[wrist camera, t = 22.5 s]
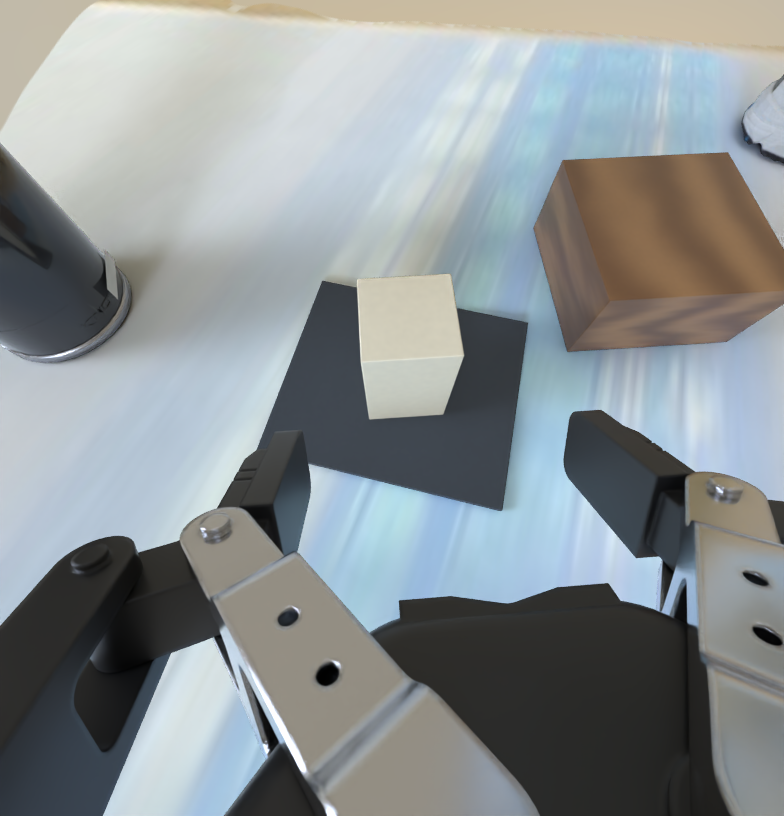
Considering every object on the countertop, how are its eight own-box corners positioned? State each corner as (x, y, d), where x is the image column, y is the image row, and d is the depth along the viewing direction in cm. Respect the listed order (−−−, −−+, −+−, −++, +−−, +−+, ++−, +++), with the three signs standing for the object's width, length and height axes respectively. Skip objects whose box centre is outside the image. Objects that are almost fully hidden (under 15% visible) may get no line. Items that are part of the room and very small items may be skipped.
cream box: (369, 419, 26) (360, 362, 19) (365, 354, 28) (356, 278, 20) (443, 414, 26) (464, 355, 19) (435, 350, 28) (451, 272, 21)
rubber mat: (258, 451, 26) (256, 449, 25) (323, 283, 31) (322, 280, 30) (500, 511, 24) (502, 510, 24) (526, 325, 29) (528, 322, 29)
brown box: (567, 352, 28) (610, 300, 23) (533, 228, 33) (562, 159, 27) (726, 342, 29) (807, 289, 23) (671, 220, 33) (728, 151, 28)
